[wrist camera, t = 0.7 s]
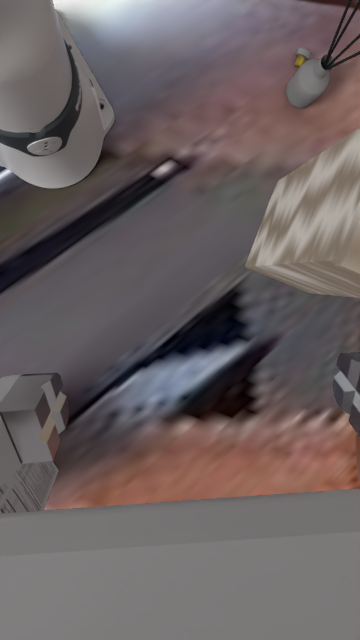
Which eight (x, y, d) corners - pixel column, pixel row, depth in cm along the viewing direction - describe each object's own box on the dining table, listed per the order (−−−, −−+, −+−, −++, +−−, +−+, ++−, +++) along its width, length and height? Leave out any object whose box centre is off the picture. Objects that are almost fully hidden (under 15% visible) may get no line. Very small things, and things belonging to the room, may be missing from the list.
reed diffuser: (315, 125, 50) (434, 27, 30) (273, 128, 49) (367, 30, 29) (310, 51, 48) (433, -102, 29) (267, 54, 47) (362, -103, 28)
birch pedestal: (312, 300, 54) (475, 322, 28) (236, 270, 51) (341, 265, 26) (349, 207, 52) (555, 143, 27) (273, 172, 50) (422, 64, 24)
